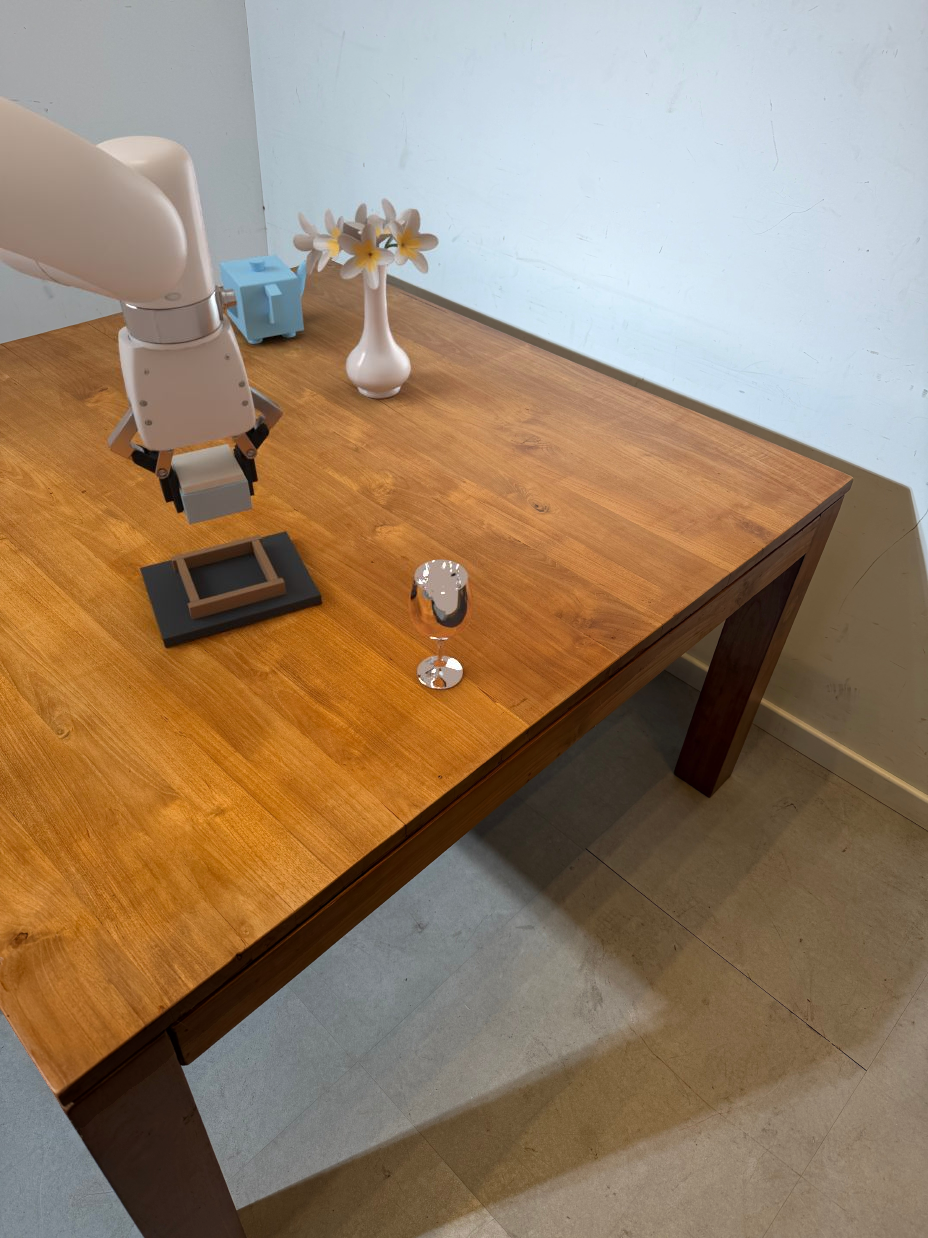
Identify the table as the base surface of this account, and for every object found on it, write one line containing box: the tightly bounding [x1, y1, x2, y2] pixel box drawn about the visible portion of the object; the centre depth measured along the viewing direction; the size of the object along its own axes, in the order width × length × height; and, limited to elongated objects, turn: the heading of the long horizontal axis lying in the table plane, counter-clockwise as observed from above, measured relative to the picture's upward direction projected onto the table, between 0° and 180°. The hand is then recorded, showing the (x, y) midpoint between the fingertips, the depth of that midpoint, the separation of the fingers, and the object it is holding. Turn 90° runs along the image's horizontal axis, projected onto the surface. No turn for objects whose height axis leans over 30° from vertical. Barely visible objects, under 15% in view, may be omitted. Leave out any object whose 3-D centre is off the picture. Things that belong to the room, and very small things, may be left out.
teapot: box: [215, 254, 308, 345], centre depth 130 cm, size 16×18×11 cm
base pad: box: [139, 530, 323, 649], centre depth 87 cm, size 16×12×3 cm
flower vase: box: [292, 197, 440, 400], centre depth 112 cm, size 13×18×25 cm
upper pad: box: [171, 443, 254, 525], centre depth 79 cm, size 6×6×4 cm
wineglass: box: [407, 559, 474, 690], centre depth 76 cm, size 6×6×12 cm
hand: (212, 495), depth 80 cm, fingers closed on upper pad, 6 cm apart
